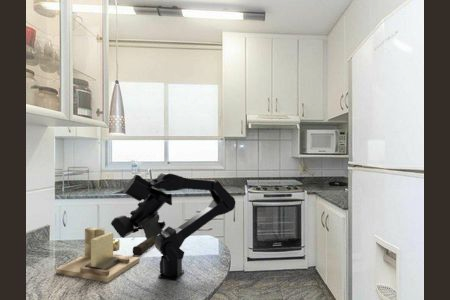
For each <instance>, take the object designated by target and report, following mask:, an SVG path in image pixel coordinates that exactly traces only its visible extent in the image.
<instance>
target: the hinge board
mask: <svg viewBox="0 0 450 300" xmlns="http://www.w3.org/2000/svg"><path fill="white" fill-rule="evenodd" d="M103 234H106V230H105V228H102V227H101V228H97V227H87V228H84V256H81V257H79V258H77V259H74V260H72V261H70V262H68V263H66V264H64V265H61V266H59V267H57V268H55V273H56V274H60V275H65V276H69V277H78V278H83V279H86V280H87V279H88V280H94V281H98V282H105V283H109V282H110V281H112V280H115V278H117V277H118V276H120V275H122V274H123V273H125V272H127V270H129V269H131V268H132V267H134V266H135V265H136V264H138V263H140V260H141V257H139V256H132V255H131V256H130V255H123V254H116V253H113V258H119V263H117V264H115V265H114V266H112V267H110V268H109V269H107V270H100V269H94V268H87V267H85V265H87V264H89V263H91V239H93V238H96V237H98V236H101V235H103Z"/></svg>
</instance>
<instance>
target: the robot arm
mask: <svg viewBox="0 0 450 300" xmlns="http://www.w3.org/2000/svg"><path fill="white" fill-rule="evenodd" d="M185 189H186V190H197V191H198V190H199V191H200V190H201V191H209V193H210V197H211V198H212V200H211V202H210V203H209V205H208V206H207V207H206V208H204V209H203V210H201V211H200V212H198V213H197V214H196V215H193V216H192V217H191V218H190V219H188V220H187V221H185V222H184V223H183V224H180V226H178V227H175V228H173V227H172V226H168V227H166V222H165V221H164V220H160V215H159V212H158V211H159V210H161V208H162V207H163V206H164V205H165V204H167V205H169V206H172V205H173V197H172V195H173V194H172V193H167V192H174V191H180V190H185ZM163 190H164V191H166V192H164V191H163ZM122 192H123V194H124V195H126V196H128V197H130V198H132V199H134V200H136V201H138V203H137V206H138V207H137V208H136V209H134V210H131V211H130V213H129V214H130V217H128V216H126V215H120V216H117V217H114V218H113V220H111V222H110V225H111V226H112V227H113V228H114V230H115V231H116V233H117V234H118V235H119V237H120V238H122V239H124V238H126V237H128V236H129V235H131V234H135V233H137V232H139V231H140V230H143V232H144V235H145V238H146V239H150V238H152V237H154V236H157V235H158V236H157V237H156V240H155V244H154V247H155V248H156V250H157V251H158V252H159V253H160V254H161V255H162V256H160V260H159V274H158V275H157V277H158V278H159V279H164V280H165V279H166V280H172V281H177V279H179V278H180V276H182V274H183V273H185V270H184V269H183V259H184V255H185V251H184V250H183V249H181V247H182V246H183V243H184V242H185V240H186V239H187V238H188V237H190V236H191V235H192V234H194V233H196V232H197V231H198V230H199V229H201V228H203V227H204V226H205V225H206V224H208V223H209V222H210V221H212V220H213V219H215V218H216V217H219V216H222V215H225V214H227V213H230V212H231V211H233V210H234V209H235V208H236V199H235V197H233V196H232V195H231V193H229V191H227V189H226V188H225V187H224V186H223V185H222V184H221V182H220V181H219V180H213V179H198V178H188V177H183V176H182V175H181V176H180V175H178V174H174V173H168V172H161V173H160V174H159V175H157V177H156V178H154V179H151V180H150V181H149V180H146V179H144V178H143V177H141V176H140V175H139V174H135V175H134V176H133V177H132V178H131V179H130V180H129V181H128V182H127V183H126V185H125V187H124V189H123V191H122ZM165 227H166V228H165ZM164 228H165V229H164ZM163 229H164V230H163Z"/></svg>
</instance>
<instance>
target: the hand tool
mask: <svg viewBox="0 0 450 300" xmlns="http://www.w3.org/2000/svg"><path fill="white" fill-rule="evenodd" d="M158 235H159V234H158ZM158 235H157V236H158ZM157 236H154V237H152V238H150V239H147V238H146V239H144V240H143V241H141V242H140V243H139V244H137V245H136V246H133V248H132V254H133V255H134V256H141V255H142V254H143V253H144V251H146V250H147V249H148V248H149V247H151V246H152V245H155V240H156V237H157Z"/></svg>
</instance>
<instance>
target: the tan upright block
mask: <svg viewBox="0 0 450 300" xmlns="http://www.w3.org/2000/svg"><path fill="white" fill-rule="evenodd" d="M120 241H121V240H120V239H119V238H114V232H110V231H109V232H105V234H103V235H101V236H98V237H96V238H93V239H91V263H89V264H87V265H85V267H87V268H94V269H100V270H107V269H109V268H110V267H112V266H114V265H115V264H117V263H119V258H113V254H114V252H118V251H120V243H121V242H120Z"/></svg>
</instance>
